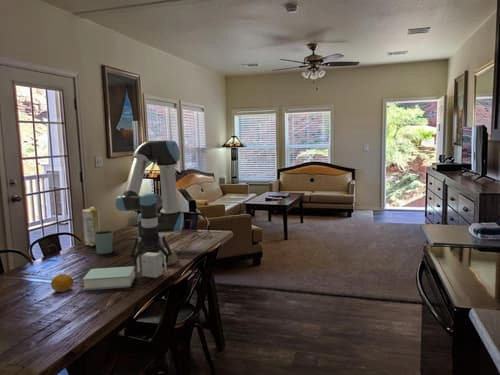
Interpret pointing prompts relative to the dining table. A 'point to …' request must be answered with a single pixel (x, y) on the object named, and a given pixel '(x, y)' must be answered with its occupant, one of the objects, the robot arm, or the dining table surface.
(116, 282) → the book
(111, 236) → the teal cup
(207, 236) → the dining table surface
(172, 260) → the ceramic mug
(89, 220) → the juice carton
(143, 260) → the small box
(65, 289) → the fruit
